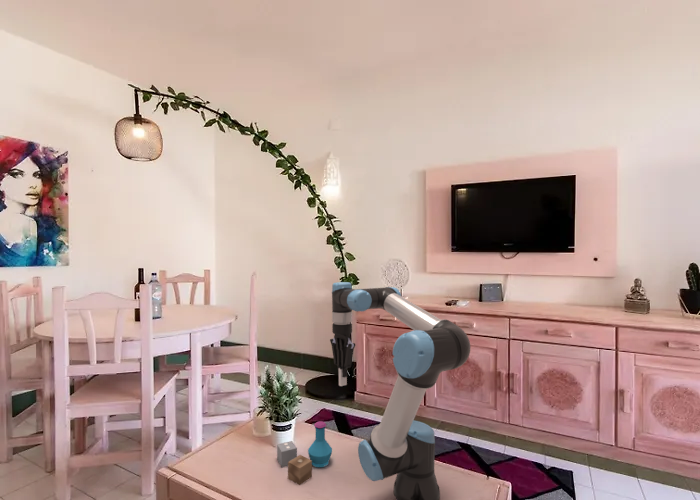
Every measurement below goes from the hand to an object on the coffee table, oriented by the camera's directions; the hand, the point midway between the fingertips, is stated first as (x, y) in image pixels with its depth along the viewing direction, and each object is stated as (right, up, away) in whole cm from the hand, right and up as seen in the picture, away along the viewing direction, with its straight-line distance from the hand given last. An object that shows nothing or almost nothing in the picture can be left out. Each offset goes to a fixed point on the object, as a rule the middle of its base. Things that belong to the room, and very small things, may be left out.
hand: (342, 384), depth 143 cm
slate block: (-22, -30, +2) cm, 37 cm away
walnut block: (-15, -30, -9) cm, 35 cm away
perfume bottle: (-9, -30, +1) cm, 32 cm away
